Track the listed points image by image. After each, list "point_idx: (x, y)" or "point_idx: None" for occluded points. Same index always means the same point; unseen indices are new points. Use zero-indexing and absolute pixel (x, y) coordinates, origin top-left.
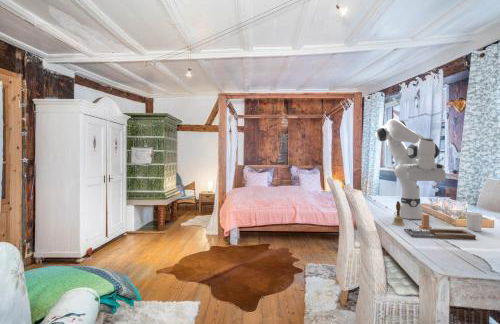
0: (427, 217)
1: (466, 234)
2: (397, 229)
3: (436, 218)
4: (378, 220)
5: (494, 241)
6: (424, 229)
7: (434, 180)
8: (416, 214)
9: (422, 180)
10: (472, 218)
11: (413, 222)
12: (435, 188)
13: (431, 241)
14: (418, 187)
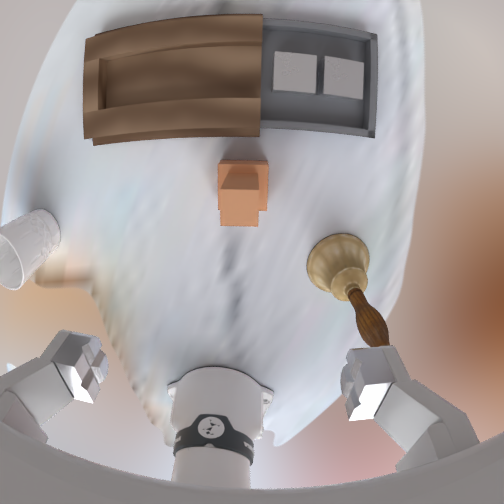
0: (233, 185)
1: (113, 42)
2: (372, 198)
3: (131, 377)
4: None
5: (40, 73)
6: (292, 83)
7: (6, 433)
8: (204, 385)
9: (328, 491)
10: (18, 231)
11: (238, 328)
12: (69, 331)
13: (293, 6)
14: (359, 354)
